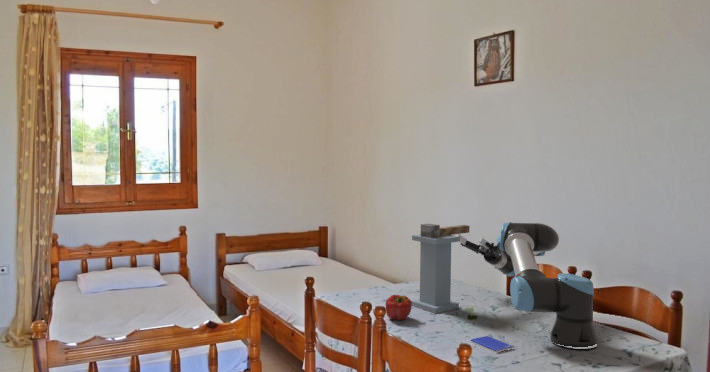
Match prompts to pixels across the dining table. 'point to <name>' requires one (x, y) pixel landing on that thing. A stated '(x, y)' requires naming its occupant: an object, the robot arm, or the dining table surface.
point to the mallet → (442, 230)
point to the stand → (435, 273)
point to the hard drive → (491, 344)
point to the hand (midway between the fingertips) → (468, 238)
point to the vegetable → (398, 307)
